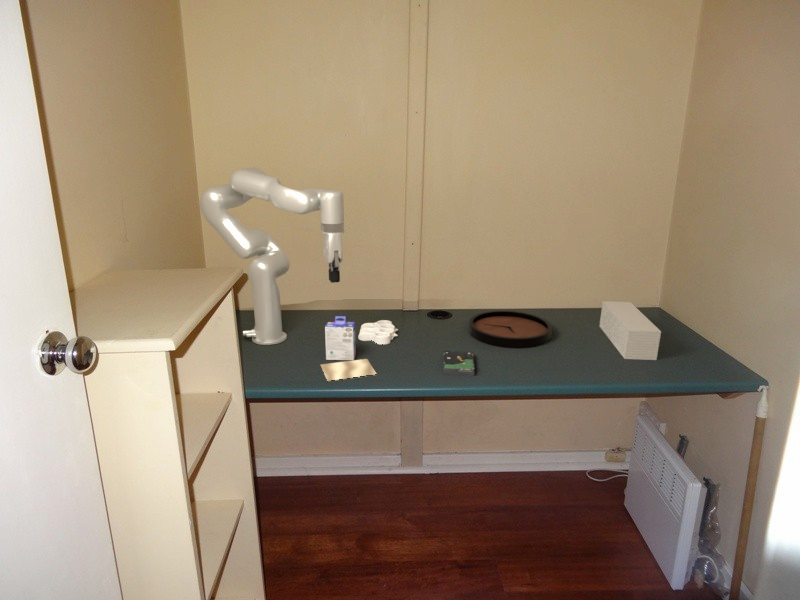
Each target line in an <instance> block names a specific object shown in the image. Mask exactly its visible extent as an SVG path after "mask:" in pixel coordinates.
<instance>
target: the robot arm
mask: <svg viewBox="0 0 800 600" xmlns="http://www.w3.org/2000/svg"><path fill="white" fill-rule="evenodd" d="M229 182H230V183H228V184H220V185H215V186H212V187H209V188H207V189H206V190H205V191H203V193H202V194H201V197H200V201H199V204H200V211H201V213H202V215H203V217H204V219H205V220H206V221H207V223H208V224H209V225H210V226H211V227H212V228H213V229H214V230H215V231H216V232H217V233H218V235H220V236H221V238H222V239H223V240H224V242H225V244H227V245H228V246H229V248H230V249H231V250H232V251H233V253H235V255H236V256H237V257H238V258H239V259H243V260H246V259H251V258H254V257H256V256H257V257H256V258H254V259H253V260H252V261H250V263H249V264H248V269H247V273H248V277H249V281H250V284H251V285H250V286H251V291H252V292H251V293H252V301H253V313H254V314H253V317H254V326H253V328H252V329H250V330H249V329H247V330H245V329H244V330H243V331H242V335H243V336H244V337H245V336H246V338H251V340H252V343H254V344H256V345H260V346H261V345H262V346H271V345H278V344H280V343H283V342H284V341H286V340H287V338H288V337H287V336H288V335H287V333H286V332H284V331H283V324H282V308H281V295H280V289H279V286H278V284H277V281H276V279H278V278H280V277H282V276H283V275H285V274H287V272H288V271H289V270H290V264H291V263H290V260H289V257H288V255H287V254H286V253H285V251H284V250H283V248H281V246H280V245H279V244H278V243H277V242H276V241H275V239H274V238H273V237H272V236H271V235H270V234H269V233H268V232H267V231H266V230H264V229H262V228H251V229H247V228H246V226H244V225H243V223H242V222H241V221H240V219H238V218H237V217H236V216H235V215H233V214H232V213H230V212H229V211H228V210H229V209H233V208H238V207H241V206H242V205H244V204H246V203H247V202H248V201H250V200H251V199H254V198H255V199H258V200H262V201H264V202H265V201H266V202H269V203H270V204H271V205H273V206H274V207H276V208H278V209H280V210H282V211H286V212H290V213H293V214H298V215H307V214H309V213H313V212H317V211H320V222H321V223H320V226H321V227H320V228H321V233H322V234H323V240H322V241H323V245H322V246H323V247H322V248H323V253H322V255H323V259H324V260H325V262H326V263H327V264H328V281H330V283H339V282H340V281H341V274H340V264H341V263H342V262H343V240H342V234H344V233H345V219H344V217H345V216H344V213H345V212H344V194H343V192H342V190H339V189H327V190H326V189H321V188H317V187H311V188H307V189H301V190H297V189H295V188H289V187H287V186H284V185H282V184H281V180H280V179H279V178H278V177H276V176H272V175H268V174H266V173H265V171H264V170H262V169H261V168H259V167H247V168H246V167H245V168H241V169H238V170H237V169H236V170H235V171H234V172H233V173H232V174H231V176H230V179H229Z"/></svg>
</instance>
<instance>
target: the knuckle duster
mask: <svg viewBox="0 0 800 600" xmlns="http://www.w3.org/2000/svg"><path fill="white" fill-rule="evenodd" d="M398 331H399V329H398V328H396V327H395V325H394V324H393V322H392V321H390V320H389V319H388V320H387V319H386V320H385V319H381V320H378V321H375V322H365V323H363V324H361V326H360V329H359V334H358V337H357V338H358V340H360V341H363V342H367V341H368V342H370V341H371V340H372V341H371V342H373V341H374V342H375V343H374V342H373V343H374V344H376V343H377V345H382V344H383V345H388V344H390V343H391V341H392V340H394V339H395V338H394V337H398V336H399V335H398V334H397V333H396V332H398ZM393 338H394V339H393Z"/></svg>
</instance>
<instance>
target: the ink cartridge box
mask: <svg viewBox="0 0 800 600" xmlns="http://www.w3.org/2000/svg"><path fill="white" fill-rule="evenodd" d="M346 317H347V316H346V315H344V316H343V315H337V316H336V315H335V319H334V321H327V323H326V325H325V326H324V337H325V340H324V341H325V343H324V344H325V360H327V361H335V360H336V361H353V360H355V358H356V356H357V351H356V348H357V347H356V322H355V321H346V319H347V318H346ZM338 319H343V320H338Z"/></svg>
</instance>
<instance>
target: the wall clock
mask: <svg viewBox="0 0 800 600" xmlns="http://www.w3.org/2000/svg"><path fill="white" fill-rule="evenodd" d="M552 331H553V327H552V324H551V323H550V322H549V321H548V320H546V319H545V318H543V317H541V316H538V315H534V314H531V313H529V312H528V313H527V312H523V311H517V310H516V311H515V310H490V311H483V312H480V313H477V314H475V315H473V316H471V317H470V318H469V321H468V334H469V335H470V336H471V337H472V338H473V339H474V340H475V341H478V342H480V343H483V344H485V345H490V346H494V347H498V348H504V349H530V348H531V349H533V348H537V347H541V346H544V345H546V344H547V343H549V342H550V341H551V339H552V333H553V332H552Z"/></svg>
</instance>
